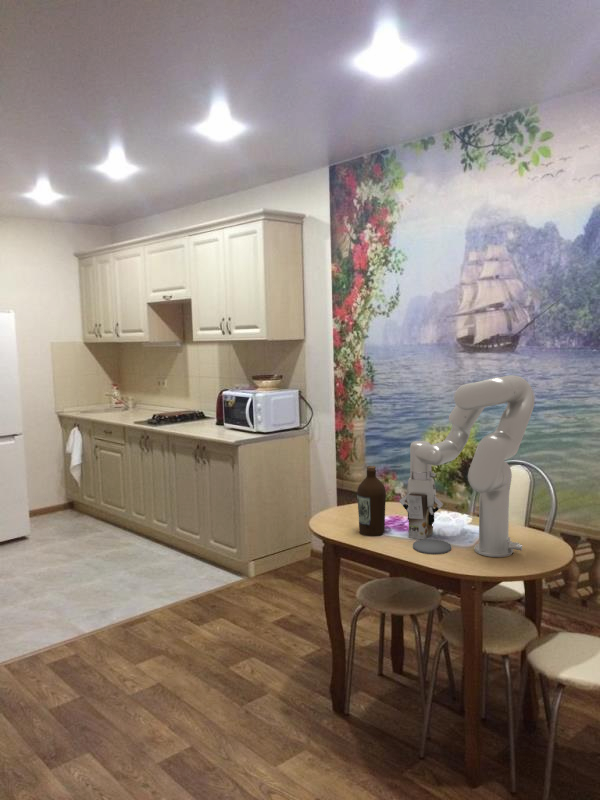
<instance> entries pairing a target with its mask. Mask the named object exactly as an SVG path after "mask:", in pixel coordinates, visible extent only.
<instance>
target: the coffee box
mask: <svg viewBox="0 0 600 800" xmlns="http://www.w3.org/2000/svg"><path fill="white" fill-rule="evenodd" d="M408 506H409V520H408V538H409V539H410V538H411V539H417V540H423V539H428V537H430V536H431V535H433V534H434V525H433V526H432V525H429V514H430V511H429V509H428V504H427V495H422V494H411V493H410V494H409V505H408ZM432 533H433V534H432Z"/></svg>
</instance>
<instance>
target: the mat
mask: <svg viewBox="0 0 600 800" xmlns="http://www.w3.org/2000/svg"><path fill="white" fill-rule="evenodd" d="M412 548H413V550H414V551H416V552H418V553H422V554H425V555H443V554H447V553H450V552H451V550H452V544H451V543H450V542H448V541H445V540H443V539H437V538H436V539H434V538H426V539H423V540H422V539H417V540H416V541H414V542H413V543H412Z"/></svg>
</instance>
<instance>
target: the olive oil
mask: <svg viewBox="0 0 600 800" xmlns="http://www.w3.org/2000/svg"><path fill="white" fill-rule="evenodd" d="M356 491H357V492H356V498H357V510H358V511H357V513H358V529H359V530H358V531H359V534H360V535H363V536H368V537H378V536H383V535H384V534H385V530H386V527H385V525H386V501H387V498H386V496H387V491H386V487H385V485H384V484H383V483H382V481H381V480H379V479H378V477H377V471H376V466H375V465H369V466H366V477H365V478H364V479H363V480H362V481H361V482H360V483H359V485H358V487H357V490H356ZM383 533H384V534H383Z"/></svg>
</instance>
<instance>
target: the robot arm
mask: <svg viewBox="0 0 600 800" xmlns="http://www.w3.org/2000/svg"><path fill="white" fill-rule="evenodd" d="M453 401H454V404H455V406H454V408H453V409H452V411H451V412H450V414H449V415H448V420H449V423H450V424H451V429H450V431H449V432H448V434H447V436H446V437H445V439H444V440H443V441H440V442H437V443H433V444H431V443H430V441H427V440H415V441H412V442H411V443H410V449H409V450H410V451H409V453H410V457H409V458H410V460H409V461H410V463H409V464H410V470H409V472H410V473H409V474H410V477H409V478H408V481H407V487H406V495H404V496H403V497H402V498H401V499H399V503H400V504H401V506H402V507H403V508H404V509H405V511H406V512H407V520H408V521H409V494H410V493H411V494H422V495H427V504H428V509H429V511H430V514H429V525H432V524H433V525H434V523H435V513H437V512H438V511H439V509H441V508H442V507H443V505H444V503H443V502H442V501H441V500H440V499H439V498H438V496H437V491H436V485H435V480H434V477H436V472H433V470H432V466H435V467H436V466H437V467H438V466H441V465H444V464H446V463H449V462H452V461H455V459H457V458H458V456H459V455H460V454H461V452H462V451H463V450H464V448H465V446H466V445H467V443H468V441H469V438H470V435H471V430H472V428H473V426H474V425H475V423H476V422H477V420H478V418H479V417H480V416H481V414H482V412H483V411H484V409H485V408H487V407H492V406H493V407H494V406H498V405H502V404H507V405H506V407H505V409H504V410H503V412H502V414H501V416H500V418H499V422H498V424H497V427H496V429H495V431H494V432H491V433H488V434H486V435H485V436H483V437H482V439H480V441H479V443H478V444H477V447H476V450H475V452H474V455H473V458H472V461H471V463H470V466H469V468H468V472H467V481H468V484H469V486H470V487H471V489H472V490H474V491H475V492H477V493H479V499H478V500H479V503H478V504H479V506H478V507H479V509H478V514H479V515H478V517H479V518H478V543H476V544H475V545H474V547H473V551H475V553H477V554H479V555H480V556H485V557H489V558H506V557H510V556H511V555H513V554H512V553H514V550H516V551H522V550H523V544H521V543H520V542H517V541H515V542H513V541H512V540H511V537H509V528H510V527H509V524H510V522H509V515H510V514H509V511H510V493H511V492H510V491H511V490H510V489H511V485H512V479H513V478H512V477H513V476H512V475H513V474H512V470H511V466H510V465H509V463H508V462H507V461H506V460H509V459H511V458H512V457H514V456H516V454H517V453H518V452H519V448H520V445H521V443H522V441H523V438H524V435H525V433H526V430H527V427H528V424H529V421H530V419H531V416H532V414H533V411H534V407H535V393H534V390H533V388H532V386H531V385H530V383H529V382H528V381H527V380H526V379H524V378H523V377H522V376H519V375H512V374H510V375H503V376H498V377H494V378H493V377H492V378H489V379H485V380H480V381H476V382H471V383H466V384H462V385H460V386H459V387H458V388H457V389H456V391H454V396H453ZM435 504H437V505H436V507H435ZM509 555H510V556H509ZM505 556H506V557H505Z"/></svg>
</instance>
